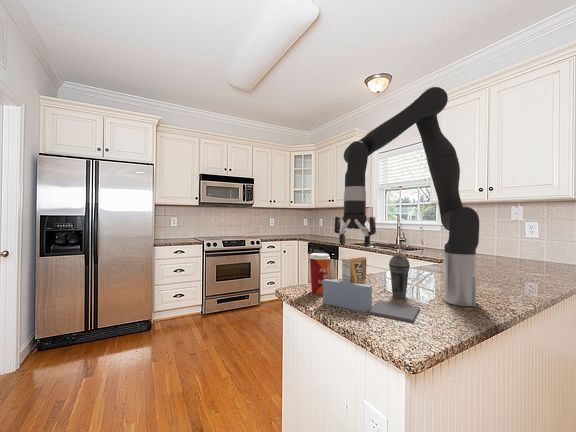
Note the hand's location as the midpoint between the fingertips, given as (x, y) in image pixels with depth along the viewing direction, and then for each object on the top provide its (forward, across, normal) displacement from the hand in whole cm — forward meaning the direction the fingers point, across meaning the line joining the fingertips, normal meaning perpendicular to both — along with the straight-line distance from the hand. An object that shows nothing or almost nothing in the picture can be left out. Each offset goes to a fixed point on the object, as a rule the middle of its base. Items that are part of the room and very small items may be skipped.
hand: (354, 246), depth 96 cm
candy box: (+20, 0, 0) cm, 20 cm away
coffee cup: (+20, +15, -3) cm, 25 cm away
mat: (+19, -14, +3) cm, 24 cm away
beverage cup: (+19, -12, -15) cm, 27 cm away
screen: (+19, 0, +8) cm, 21 cm away
